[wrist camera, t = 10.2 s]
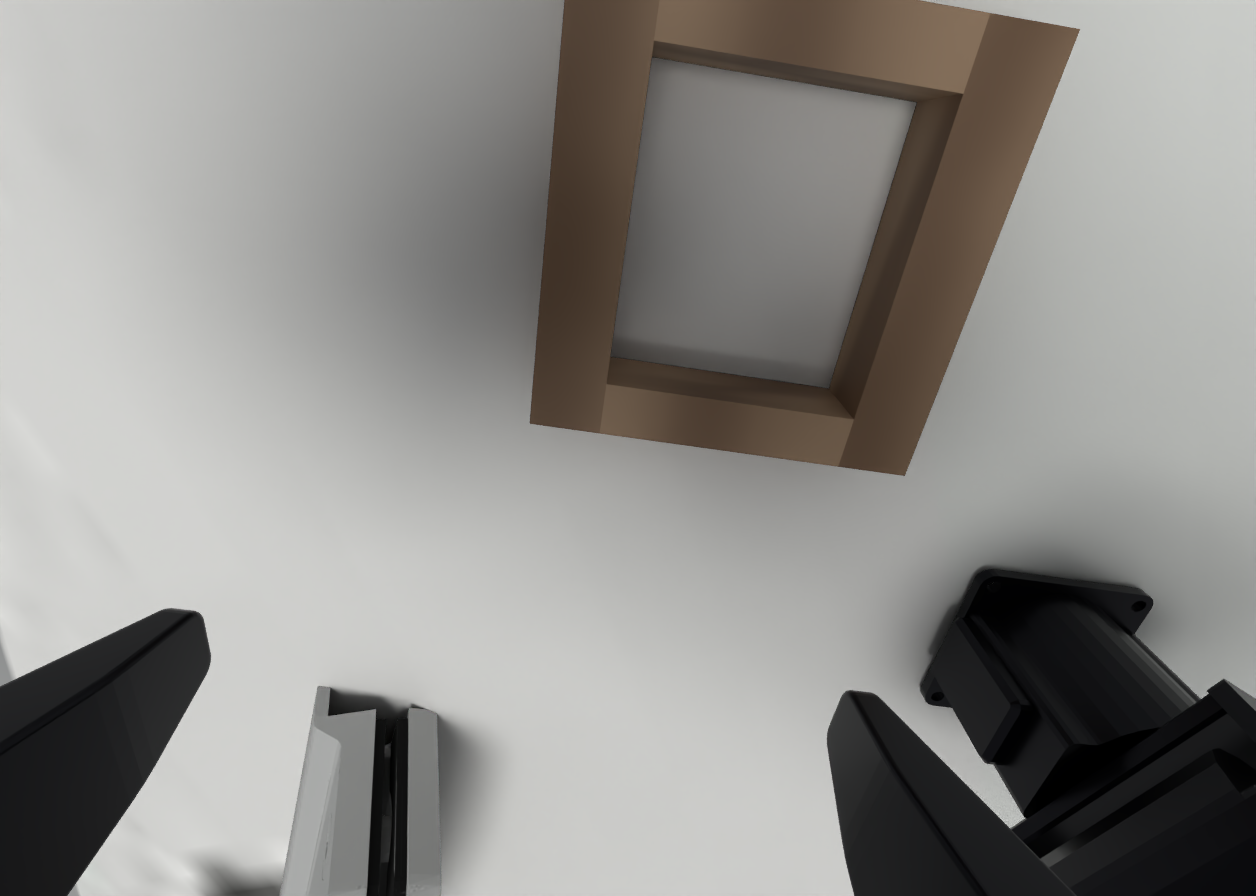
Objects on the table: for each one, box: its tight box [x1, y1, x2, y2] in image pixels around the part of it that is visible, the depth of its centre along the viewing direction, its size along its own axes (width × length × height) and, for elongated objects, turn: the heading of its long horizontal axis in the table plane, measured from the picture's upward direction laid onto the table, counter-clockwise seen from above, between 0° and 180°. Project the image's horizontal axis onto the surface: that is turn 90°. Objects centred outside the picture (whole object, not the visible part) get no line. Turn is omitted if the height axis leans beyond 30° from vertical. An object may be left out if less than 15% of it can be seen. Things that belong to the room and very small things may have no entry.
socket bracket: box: [530, 0, 1080, 476], centre depth 16 cm, size 11×11×2 cm
